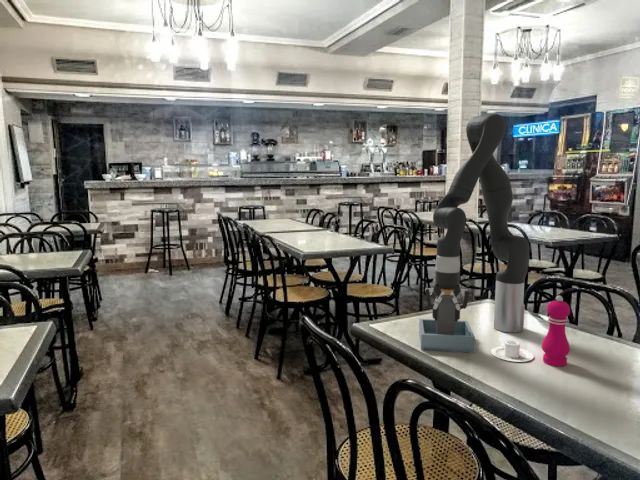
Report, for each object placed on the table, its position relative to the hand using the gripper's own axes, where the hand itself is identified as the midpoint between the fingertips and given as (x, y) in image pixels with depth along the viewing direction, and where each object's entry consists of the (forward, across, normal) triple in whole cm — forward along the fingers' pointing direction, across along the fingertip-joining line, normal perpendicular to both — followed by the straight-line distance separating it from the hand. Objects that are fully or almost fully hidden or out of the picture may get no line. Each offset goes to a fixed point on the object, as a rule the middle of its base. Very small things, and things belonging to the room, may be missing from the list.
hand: (445, 320), depth 154 cm
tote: (+7, 0, 0) cm, 7 cm away
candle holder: (+8, +19, -8) cm, 22 cm away
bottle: (+5, 0, 0) cm, 5 cm away
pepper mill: (+8, +30, -12) cm, 33 cm away
